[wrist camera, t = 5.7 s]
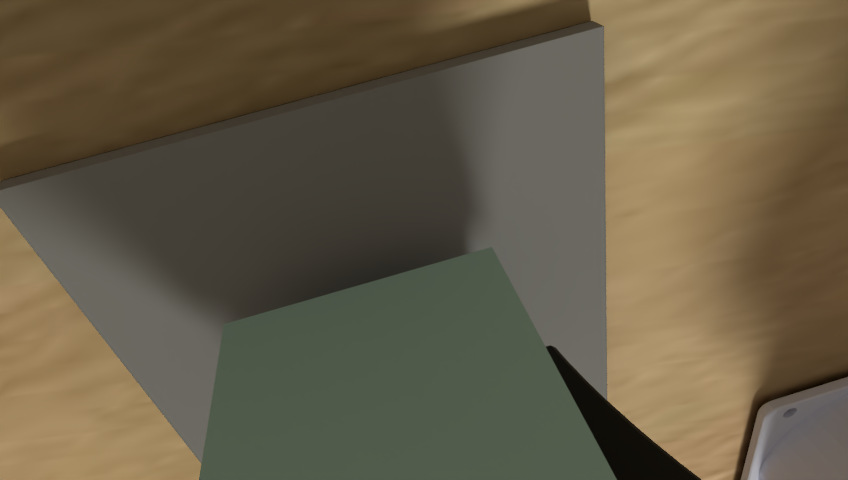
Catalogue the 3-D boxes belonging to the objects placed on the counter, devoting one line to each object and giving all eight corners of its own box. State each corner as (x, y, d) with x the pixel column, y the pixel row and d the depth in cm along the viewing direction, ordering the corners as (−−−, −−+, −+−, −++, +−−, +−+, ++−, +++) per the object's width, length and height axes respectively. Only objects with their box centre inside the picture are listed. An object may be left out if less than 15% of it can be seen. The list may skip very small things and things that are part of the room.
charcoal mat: (592, 20, 11) (603, 26, 10) (599, 394, 18) (607, 406, 17) (2, 180, 10) (-12, 193, 10) (245, 503, 17) (244, 518, 17)
